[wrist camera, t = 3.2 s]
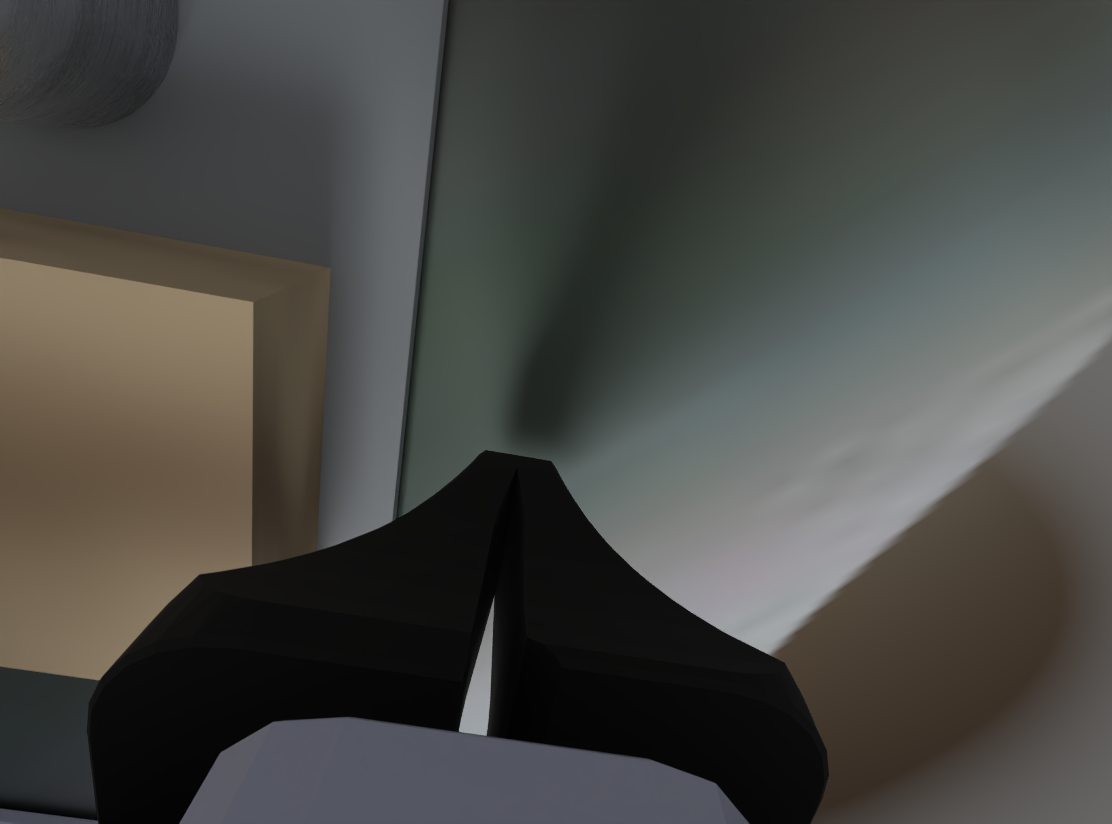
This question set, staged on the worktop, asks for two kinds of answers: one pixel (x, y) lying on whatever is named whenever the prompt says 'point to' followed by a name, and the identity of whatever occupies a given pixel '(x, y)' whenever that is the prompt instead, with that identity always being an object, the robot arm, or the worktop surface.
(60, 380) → the oak tile
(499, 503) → the robot arm
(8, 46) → the metal peg
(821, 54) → the worktop surface
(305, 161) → the parts board
